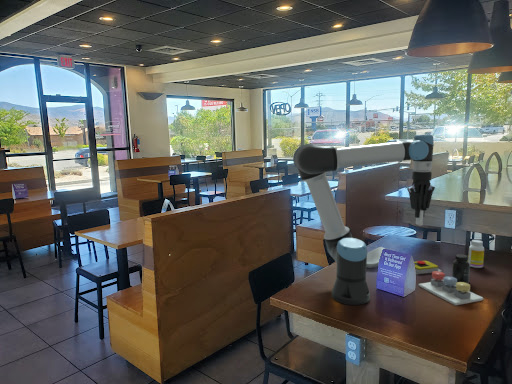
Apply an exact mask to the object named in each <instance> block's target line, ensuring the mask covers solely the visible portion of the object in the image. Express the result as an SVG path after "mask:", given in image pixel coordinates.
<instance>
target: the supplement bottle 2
mask: <svg viewBox="0 0 512 384" xmlns="http://www.w3.org/2000/svg"><path fill="white" fill-rule="evenodd" d="M467 256H468V261H467V262H469V263H470V268H475V269H481V268H483V267H484V259H485V247H484V246H483V241H482V240H480V239H479V240H478V239H472V240H471V244H470V245H469V247H468V255H467Z"/></svg>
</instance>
